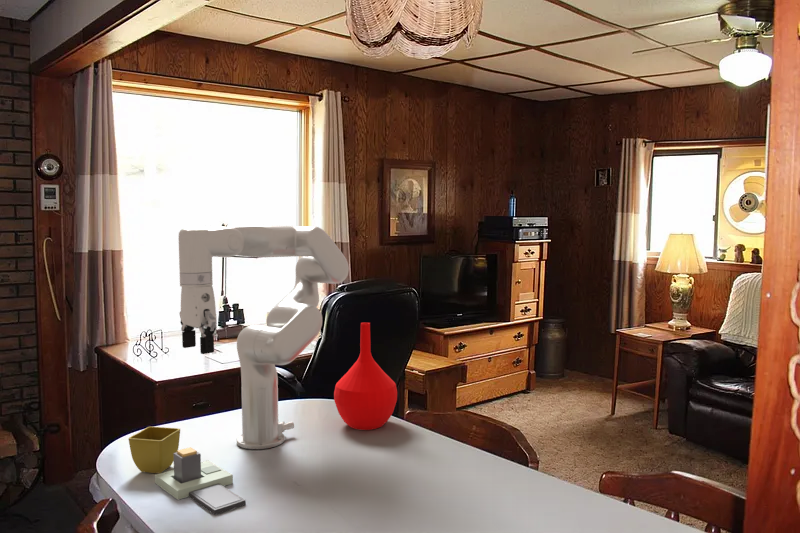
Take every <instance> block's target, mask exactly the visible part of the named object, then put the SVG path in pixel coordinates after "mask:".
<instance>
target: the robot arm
mask: <svg viewBox="0 0 800 533" xmlns="http://www.w3.org/2000/svg"><path fill="white" fill-rule="evenodd" d="M234 256H235V257H236V256H238V257H239V256H240V257H249V258H250V257H251V258H282V257H283V258H289V257H291V258H292V257H300V258H298V260H297V261H296V264H295V283H294V287H293V289H292V290H291V291H290V292H289V293H288V294H287V295H286V296H284V297H283V298H282V300H280V301H279V302H278V303H277V304H276V305H275V306H273V308H272V309H271V310H270V311H269V312H268V314H267V317H266V325H262V324H251V325H248V326H245V327H244V328H243V329H241V331H240V332H239V333H238V336H237V339H236V350H237V351H236V352H237V356H238V359H239V365H240V378H241V382H240V383H241V421H242V422H241V423H242V424H241V425H242V429H241V430H242V434H240V435H238V437H237V438H236V445H237V446H238V447H240V448H242V449H247V450H265V449H270V448H275V447H277V446H279V445H282V444H283V443H284V442H285V439H286V438H285V435H284V432H285V431H286V430H287V431H288V430H293V429H295V423H294V422H293V421H289V422H286V423H285V421H279V388H278V385H279V377H278V371H277V367H276V366H285V365H289V364H291V363H292V362H293V361H294V360H296V359H297V358H298V356H300V354H302V353H303V352H304V350H305V349H306V348H308V347H309V346H310V344H311V343H312V342H314V340H315V339H317V336H318V335H319V334H320V332H321V329H322V326H323V314H322V312H321V311H320V309H319V308H318V306H319V302H320V294H319V284H333V285H334V284H335V285H337V284H341V283H343V282H344V281H345V280H346V279H347V278H348V276H349V272H350V271H349V270H350V268H349V266H350V265H349V262H348V260H347V258H346V257H345V255H344V253H343V252H342V250H340V248H339V247H338V246H337V244H336V243H335V242H334V240H333V239H332V238H331V236H330V234H328V233H327V232H326V231H325V230H324V229H322V228H321V227H319V226H314V225H313V226H309V225H308V226H306V225H305V226H304V225H303V226H301V225H299V226H297V225H264V224H263V225H247V226H202V227H189V228H188V227H187V228H182V229H181V230H180V231H179V232H178V260H179V262H178V265H179V269H178V270H179V287H181V292H180V311H179V317H180V321H179V322H180V325H181V328H180V330H181V336H182V338H181V340H182V342H181V343H182V344H181V345H182V348H184V349H186V348H187V349H189V348H194V347H196V345H197V343H196V340H197V339H196V330H194V329H199V332H200V335H201V337H199V345H200V346H199V347H200V354H201V355H206V354H213V353H214V352H215V335H216V334H215V331H216V328H217V327H216V325H217V310H216V307H217V306H216V299H215V293H214V288H213V287H214V286H213V257H214V258H215V257H216V258H233V257H234ZM318 283H319V284H318Z"/></svg>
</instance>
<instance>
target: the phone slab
mask: <svg viewBox="0 0 800 533" xmlns="http://www.w3.org/2000/svg"><path fill="white" fill-rule="evenodd" d="M189 498H190V499H192V500H193V501H194V502H196V503H197V504H199V505H200V506H201V507H203V508H204V509H206V510H207V511H208V512H209V513H211V514H213V515H214V516H215V515H219V514H223V513H225V512H228V511H232V510H234V509H237V508H240V507H242V506H246V501H247V500H246V499H244V498H242V497H241V496H239V495H238V494H237V493H235V492H233V491H232V490H230V489H229V488H227V487H225V486H222V485H221V484H219V483H218V484H214V485H211V486H208V487H204V488H201V489H198V490H194V491H191V492H189Z"/></svg>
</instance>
